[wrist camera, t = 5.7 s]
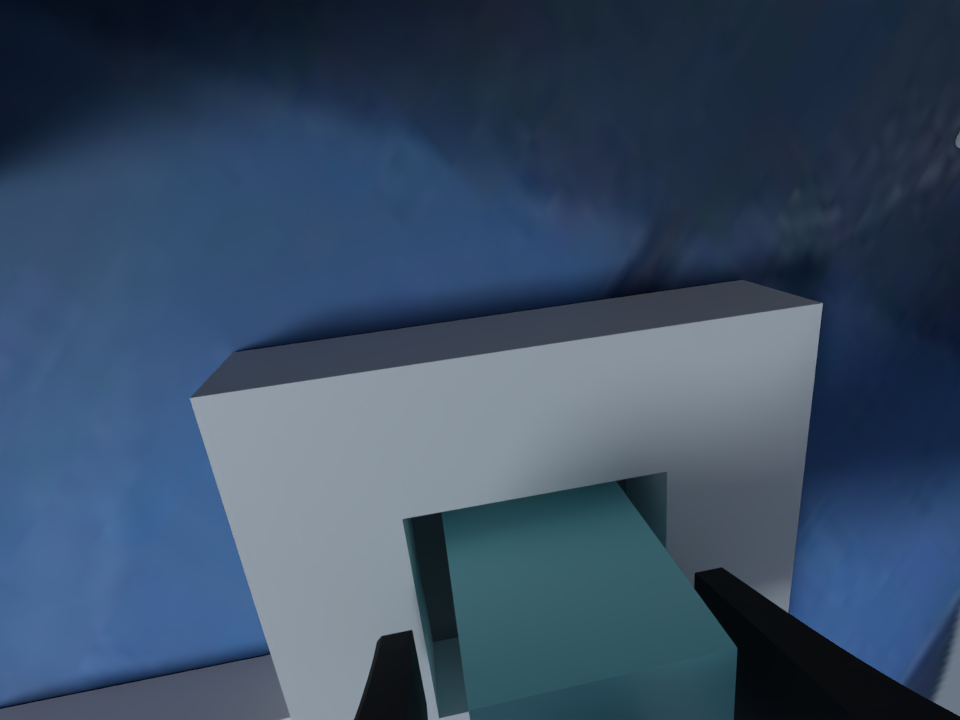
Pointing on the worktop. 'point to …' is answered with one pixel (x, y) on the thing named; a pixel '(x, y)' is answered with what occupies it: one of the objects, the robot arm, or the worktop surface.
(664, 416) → the port
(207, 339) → the worktop surface
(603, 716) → the plug
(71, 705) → the white square tray
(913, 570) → the worktop surface
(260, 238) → the worktop surface
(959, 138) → the skincare box
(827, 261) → the worktop surface
